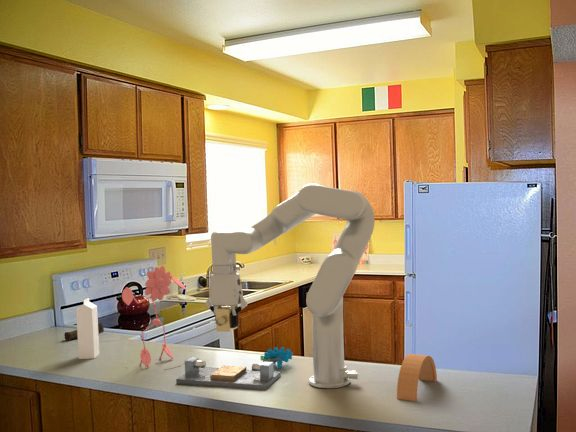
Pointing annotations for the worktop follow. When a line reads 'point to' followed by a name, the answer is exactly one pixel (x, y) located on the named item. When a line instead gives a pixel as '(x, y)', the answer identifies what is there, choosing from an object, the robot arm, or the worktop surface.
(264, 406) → the worktop surface
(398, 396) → the arch
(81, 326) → the milk
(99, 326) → the hand tool
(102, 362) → the worktop surface
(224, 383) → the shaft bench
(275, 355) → the gear
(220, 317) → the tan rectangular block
